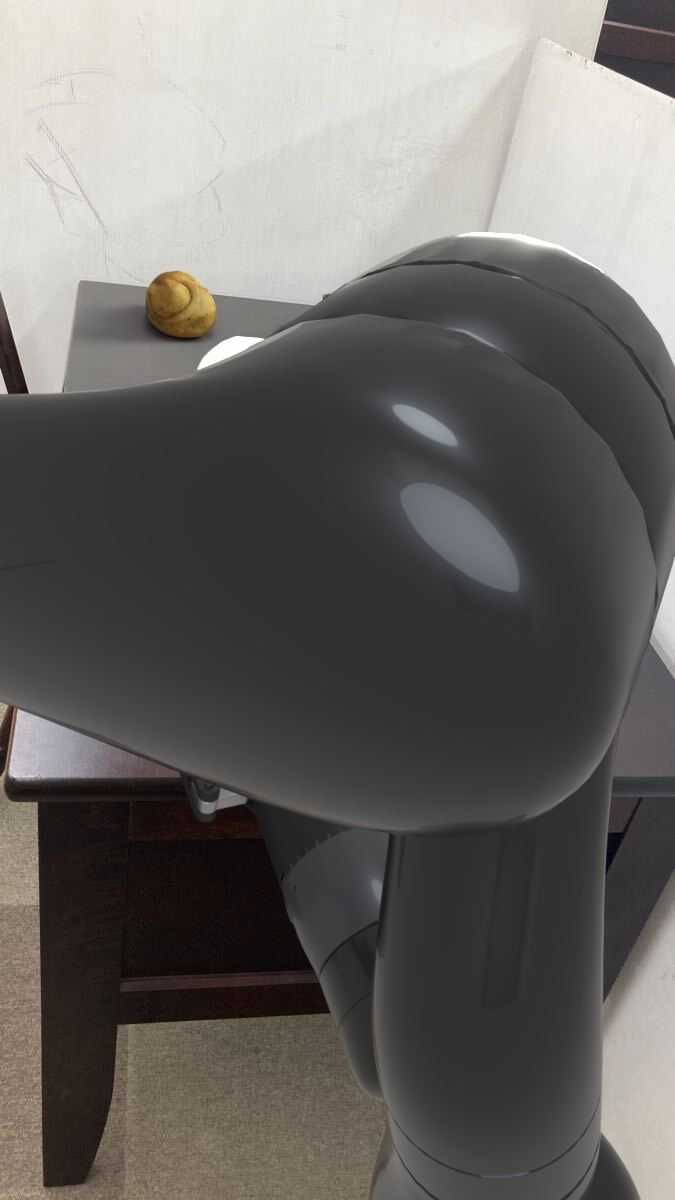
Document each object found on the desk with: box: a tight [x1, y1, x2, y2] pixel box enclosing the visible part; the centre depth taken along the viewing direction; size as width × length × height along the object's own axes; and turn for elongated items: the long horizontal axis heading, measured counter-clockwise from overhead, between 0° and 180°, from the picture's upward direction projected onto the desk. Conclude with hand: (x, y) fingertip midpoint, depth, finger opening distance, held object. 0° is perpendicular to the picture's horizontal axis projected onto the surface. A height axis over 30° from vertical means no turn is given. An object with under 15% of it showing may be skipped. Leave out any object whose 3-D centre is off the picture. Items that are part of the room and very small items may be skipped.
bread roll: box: [145, 270, 218, 339], centre depth 125 cm, size 13×10×8 cm
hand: (265, 667), depth 58 cm, fingers open, 8 cm apart
